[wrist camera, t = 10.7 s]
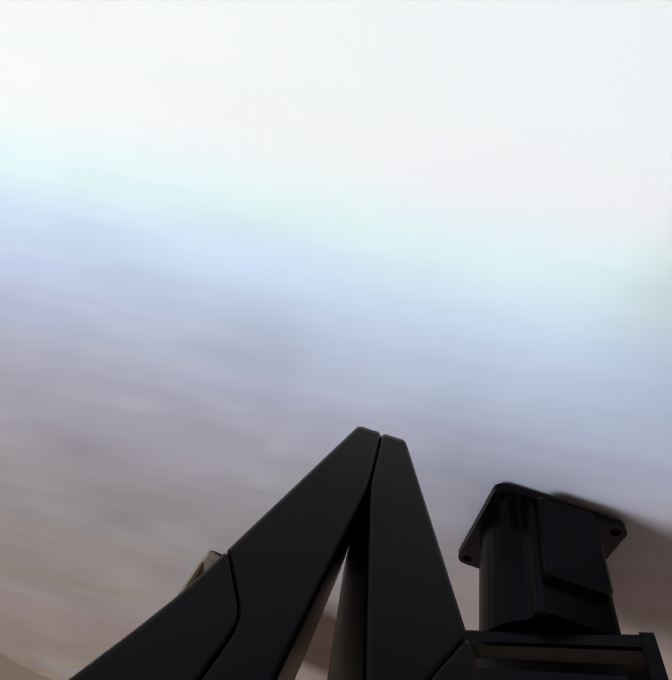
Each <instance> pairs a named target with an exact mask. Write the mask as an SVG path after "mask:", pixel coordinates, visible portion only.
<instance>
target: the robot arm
mask: <svg viewBox="0 0 672 680" xmlns="http://www.w3.org/2000/svg"><path fill="white" fill-rule="evenodd" d="M380 437H381V438H380ZM501 493H506V494H501ZM626 535H627V530H626V527H625V524H624V523H623V522H622V521H620V520H618V519H615V518H612V517H608V516H605V515H602V514H599V513H596V512H593V511H590V510H586V509H583V508H580V507H577V506H574V505H571V504H568V503H564V502H561V501H558V500H555V499H552V498H549V497H546V496H542V495H539V494H536V493H533V492H530V491H527V490H524V489H520V488H517V487H514V486H511V485H508V484H503V483H502V484H497V485H495V486H494V487H493V489H492V491H491V493H490V494H489V496H488V498H487V500H486V502H485V504H484V505H483V507H482V509H481V511H480V513H479V514H478V516H477V518H476V520H475V522H474V523H473V525H472V527H471V529H470V531H469V533H468V534H467V536H466V538H465V540H464V542H463V543H462V545H461V547H460V549H459V557H458V558H459V560H460V561H461V562H463V563H465V564H468V565H471V566H473V567H476V568H479V631H475V630H465V627H464V624H463V621H462V617H461V614H460V611H459V608H458V605H457V602H456V599H455V595H454V592H453V589H452V586H451V583H450V580H449V577H448V573H447V570H446V567H445V564H444V561H443V558H442V554H441V551H440V548H439V545H438V542H437V539H436V536H435V532H434V529H433V526H432V523H431V520H430V517H429V514H428V510H427V507H426V504H425V501H424V498H423V495H422V491H421V488H420V485H419V482H418V479H417V476H416V473H415V469H414V466H413V463H412V460H411V457H410V454H409V451H408V447H407V445H406V442H405V441H404V440H402V439H399V438H396V437H393V436H389V435H386V434H384V435H382V436H381V435H380V433H379V432H377V431H374V430H371V429H367V428H364V427H357V428H356V429H355V430H354V431H353V432H352V433H350V434H349V435H348V436H347V437H346V438H345V439H344V440H343V441H342V442H341V443H340V444H339V445H338V446H337V447H336V448H335V449H334V450H333V451H332V452H330V453H329V454H328V455H327V456H326V457H325V458H324V459H323V460H322V461H321V462H320V463H319V464H318V465H317V466H316V467H315V468H314V469H313V470H311V471H310V472H309V473H308V474H307V475H306V476H305V477H304V478H303V479H302V480H301V481H300V482H299V483H298V484H297V485H296V486H295V487H294V488H293V489H291V490H290V491H289V492H288V493H287V494H286V495H285V496H284V497H283V498H282V499H281V500H280V501H279V502H278V503H277V504H276V505H275V506H274V507H272V508H271V509H270V510H269V511H268V512H267V513H266V514H265V515H264V516H263V517H262V518H261V519H260V520H259V521H258V522H257V523H256V524H255V525H254V526H252V527H251V528H250V529H249V530H248V531H247V532H246V533H245V534H244V535H243V536H242V537H241V538H240V539H239V540H238V541H237V542H236V543H235V544H233V545H232V546H231V547H230V548H229V549H228V551H227V554H226V553H225V554H223V555H222V556H220V557H219V558H218V559H217V560H216V561H215V562H214V563H213V564H212V565H211V566H210V567H209V568H208V569H207V570H206V571H205V572H204V573H202V574H201V575H200V576H199V577H198V578H197V579H196V580H195V581H193V582H192V583H191V584H190V585H189V586H188V587H187V588H186V589H184V590H183V591H182V592H181V593H180V594H179V595H178V596H177V597H175V598H174V599H173V600H172V601H171V602H169V603H168V604H167V605H166V606H164V607H163V608H162V609H161V610H159V611H158V612H157V613H155V614H154V615H153V616H152V617H150V618H149V619H148V620H147V621H145V622H144V623H143V624H142V625H140V626H139V627H138V628H137V629H135V630H134V631H133V632H131V633H130V634H129V635H127V636H126V637H125V638H123V639H122V640H121V641H119V642H118V643H117V644H115V645H114V646H113V647H111V648H110V649H109V650H107V651H106V652H105V653H103V654H102V655H101V656H99V657H98V658H97V659H95V660H94V661H93V662H91V663H90V664H89V665H87V666H86V667H85V668H83V669H82V670H81V671H80V672H78V673H77V674H76V675H74V676H73V677H72V678H70V679H69V680H295V678H296V675H297V673H298V670H299V668H300V666H301V663H302V661H303V658H304V656H305V654H306V651H307V649H308V646H309V644H310V642H311V639H312V637H313V634H314V632H315V629H316V627H317V625H318V622H319V620H320V617H321V615H322V613H323V610H324V608H325V605H326V603H327V601H328V598H329V596H330V593H331V591H332V589H333V586H334V584H335V581H336V579H337V577H338V574H339V572H340V569H341V567H342V564H343V561H344V559H345V556H346V553H347V556H346V561H345V567H344V572H343V579H342V585H341V592H340V599H339V605H338V612H337V619H336V625H335V632H334V639H333V645H332V652H331V659H330V665H329V672H328V679H327V680H669V679H668V676H667V673H666V670H665V667H664V664H663V660H662V657H661V654H660V651H659V648H658V644H657V641H656V638H655V635H654V633H647V632H638V633H639V635H625V634H621V632H620V627H619V623H618V619H617V615H616V610H615V606H614V602H613V597H612V594H613V588H612V584H611V579H610V575H609V571H608V567H607V563H606V559H607V558H608V556H609V555H610V554H611V553H612V552H613V551H614V549H615V548H616V547H617V546H618V545H619V544H620V542H621V541H622V540H623V539H624V538H625V537H626ZM348 547H349V548H348ZM347 550H348V552H347Z"/></svg>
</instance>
